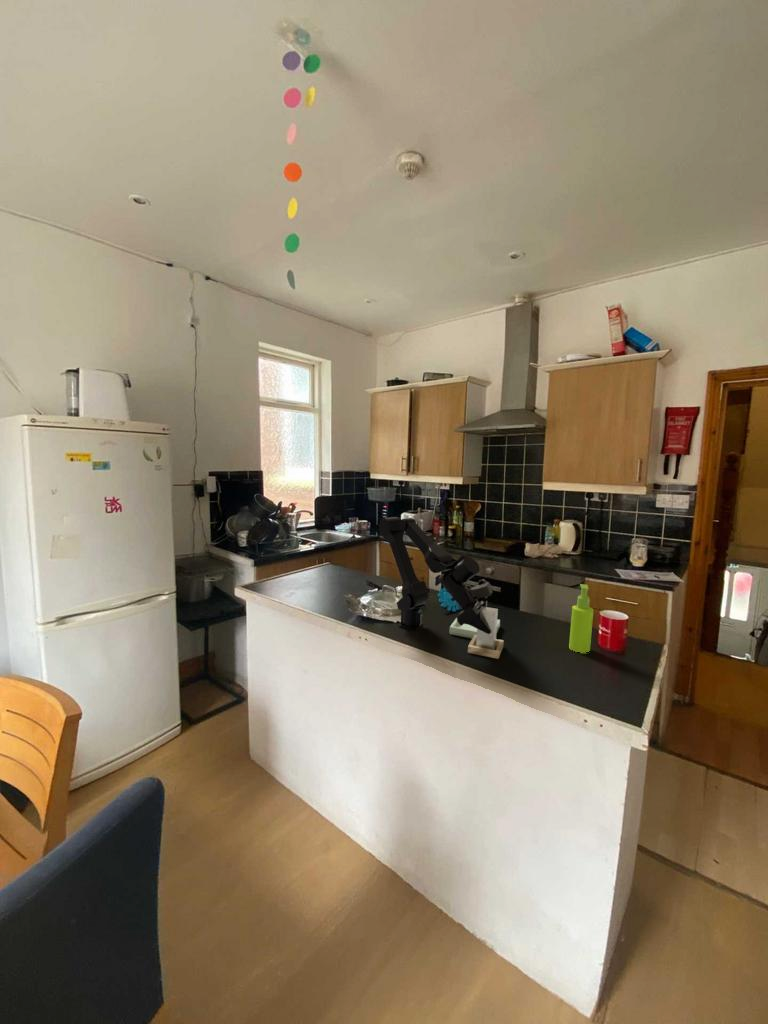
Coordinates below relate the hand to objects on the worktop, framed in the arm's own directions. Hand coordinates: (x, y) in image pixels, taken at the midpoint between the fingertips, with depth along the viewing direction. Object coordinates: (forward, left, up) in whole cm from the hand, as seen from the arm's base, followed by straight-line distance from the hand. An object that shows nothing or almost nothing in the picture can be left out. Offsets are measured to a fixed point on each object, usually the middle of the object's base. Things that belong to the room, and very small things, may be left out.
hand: (491, 629), depth 128 cm
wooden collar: (-1, 0, -7) cm, 7 cm away
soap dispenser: (+25, +14, -7) cm, 29 cm away
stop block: (-1, 0, -7) cm, 7 cm away
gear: (-21, +29, -7) cm, 37 cm away
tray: (-7, +13, -7) cm, 16 cm away
